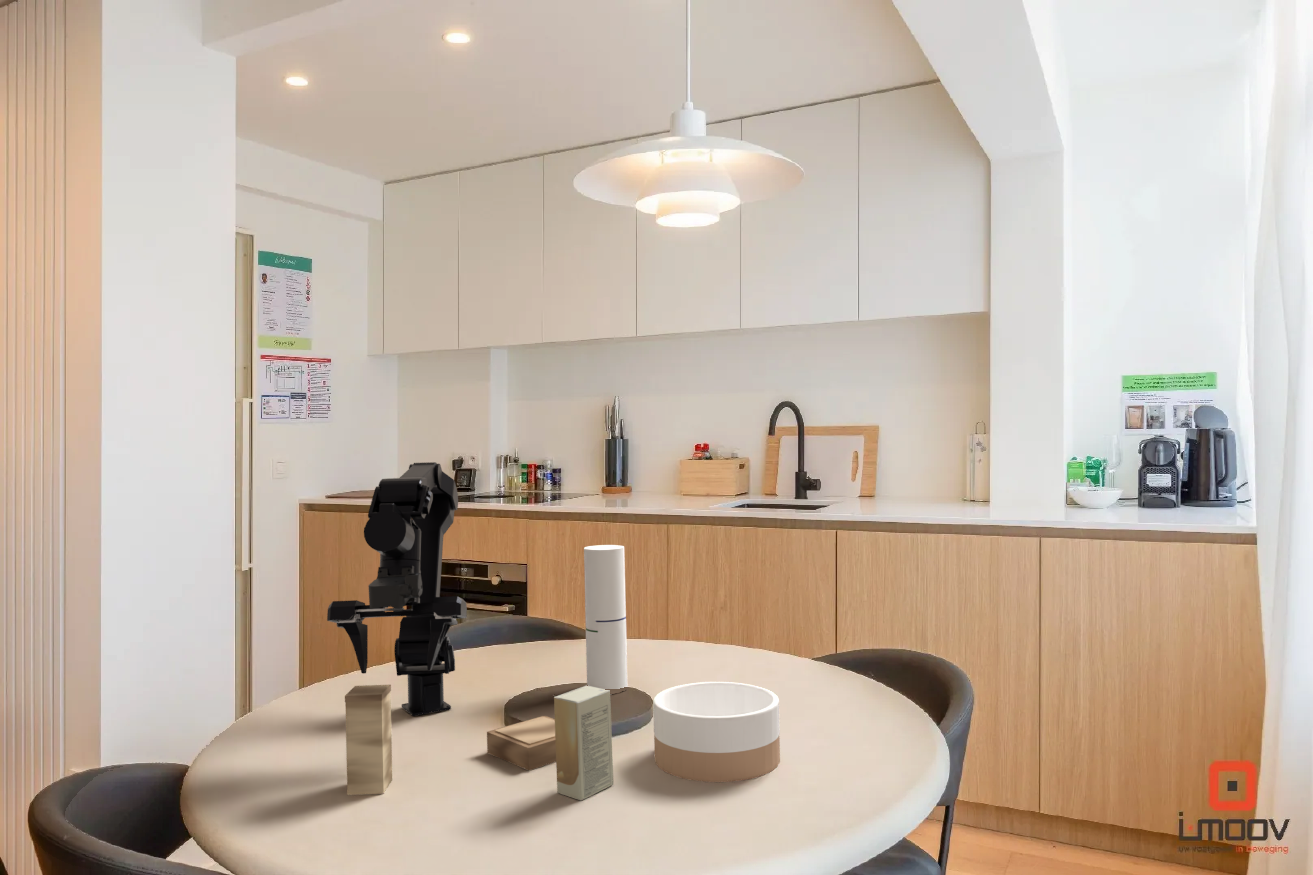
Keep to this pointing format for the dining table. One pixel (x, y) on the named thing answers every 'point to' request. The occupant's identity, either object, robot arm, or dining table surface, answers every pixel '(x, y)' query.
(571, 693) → the skincare box
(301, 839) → the dining table surface
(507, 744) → the plinth
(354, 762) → the oak block
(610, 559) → the cylindrical container
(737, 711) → the bowl
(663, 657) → the dining table surface
